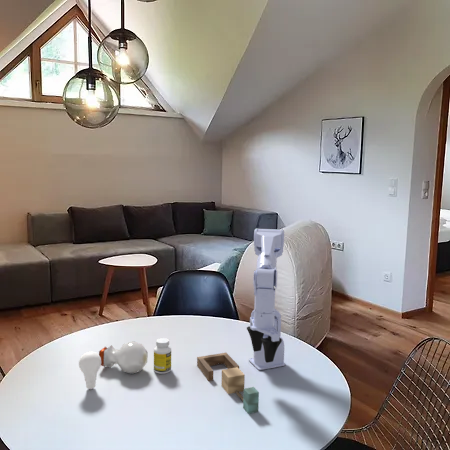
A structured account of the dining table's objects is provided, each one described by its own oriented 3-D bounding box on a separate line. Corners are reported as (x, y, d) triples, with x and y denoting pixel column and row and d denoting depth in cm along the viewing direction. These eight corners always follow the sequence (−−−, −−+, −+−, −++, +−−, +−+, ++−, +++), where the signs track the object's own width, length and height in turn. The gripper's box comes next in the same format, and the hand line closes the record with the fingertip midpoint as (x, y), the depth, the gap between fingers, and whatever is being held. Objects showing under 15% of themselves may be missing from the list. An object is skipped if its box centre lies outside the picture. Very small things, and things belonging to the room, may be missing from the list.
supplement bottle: (168, 375, 139) (168, 344, 137) (151, 373, 140) (151, 343, 138) (173, 367, 144) (173, 337, 143) (157, 365, 145) (157, 336, 144)
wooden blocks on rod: (237, 383, 135) (237, 365, 134) (261, 410, 120) (262, 391, 119) (221, 386, 133) (221, 368, 132) (244, 414, 118) (244, 394, 118)
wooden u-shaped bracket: (226, 361, 149) (226, 352, 149) (239, 375, 139) (239, 366, 139) (197, 366, 145) (197, 357, 145) (208, 381, 136) (208, 371, 135)
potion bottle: (147, 380, 138) (104, 378, 143) (156, 351, 145) (114, 350, 150) (136, 364, 132) (91, 363, 137) (145, 335, 139) (102, 335, 144)
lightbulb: (106, 385, 132) (105, 349, 130) (93, 396, 126) (92, 358, 125) (88, 382, 134) (87, 346, 132) (75, 392, 128) (73, 355, 126)
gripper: (240, 304, 133) (239, 348, 136) (263, 320, 120) (262, 369, 122) (262, 301, 136) (261, 344, 138) (286, 317, 123) (285, 365, 125)
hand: (263, 356), depth 130 cm, fingers open, 7 cm apart
